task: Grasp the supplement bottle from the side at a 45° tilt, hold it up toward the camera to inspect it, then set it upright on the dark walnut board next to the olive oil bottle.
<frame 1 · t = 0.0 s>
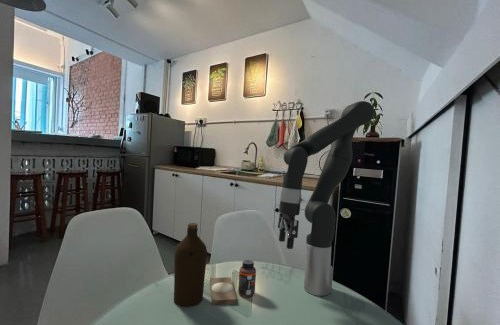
hand: (285, 244, 90), 17 cm above the table, tool pointing down, fingers open, 8 cm apart
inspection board: (222, 291, 87), on the table
olive oil: (188, 299, 81), on the table
supplement bottle: (246, 294, 87), on the table
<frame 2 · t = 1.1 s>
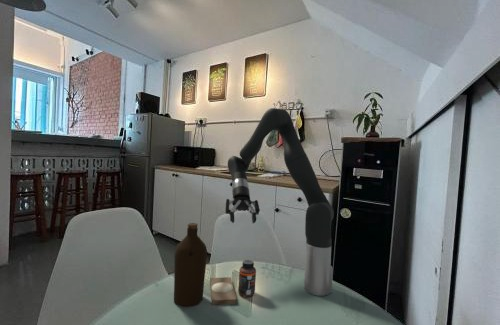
hand: (243, 222, 98), 23 cm above the table, tool tilted 45°, fingers open, 8 cm apart
nothing on the table moved.
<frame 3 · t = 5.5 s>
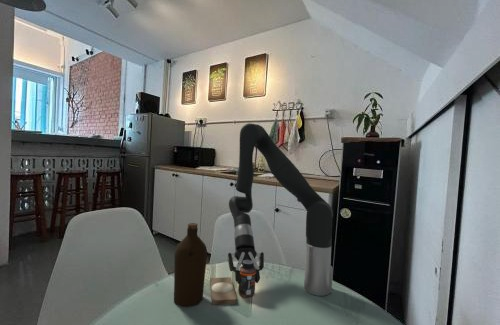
hand: (248, 282, 85), 5 cm above the table, tool tilted 45°, fingers closed on supplement bottle, 6 cm apart
supplement bottle: (246, 294, 87), on the table, touching gripper
everything else where it was.
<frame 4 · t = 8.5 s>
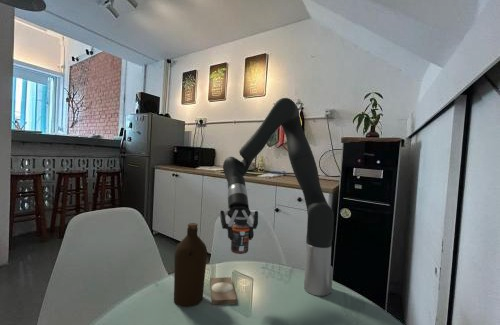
hand: (241, 238, 81), 21 cm above the table, tool tilted 45°, fingers closed on supplement bottle, 6 cm apart
supplement bottle: (239, 252, 82), point 16 cm above the table, touching gripper
everything else where it was.
when the fingers open (8 cm above the table, at t = 11.9 s): supplement bottle drops 1 cm, resting on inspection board.
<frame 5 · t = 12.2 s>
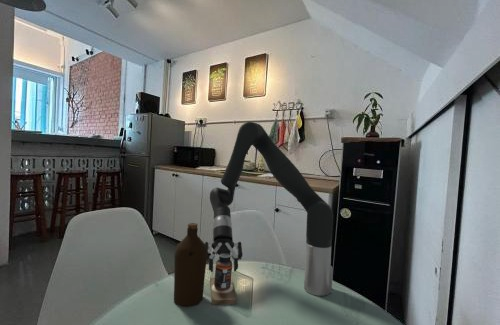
hand: (223, 270, 86), 8 cm above the table, tool tilted 45°, fingers open, 8 cm apart
supplement bottle: (222, 287, 87), point 2 cm above the table, touching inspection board
everything else where it was.
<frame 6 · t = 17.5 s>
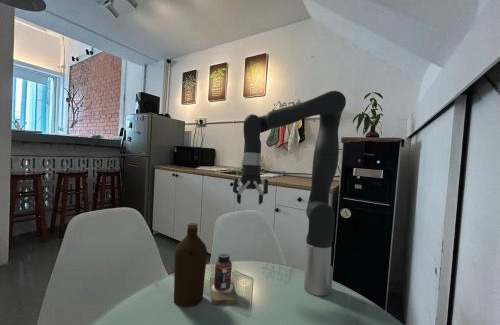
hand: (249, 203, 99), 30 cm above the table, tool pointing down, fingers open, 8 cm apart
nothing on the table moved.
at the end: supplement bottle 0.2 cm off-centre on the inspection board, point 1.4 cm above the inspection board's base; supplement bottle tilted 0°; the gripper is holding nothing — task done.
